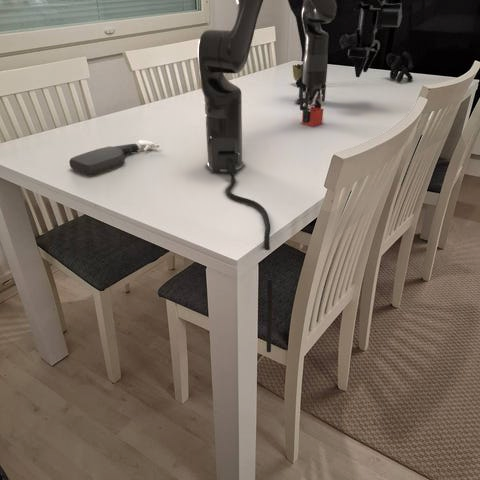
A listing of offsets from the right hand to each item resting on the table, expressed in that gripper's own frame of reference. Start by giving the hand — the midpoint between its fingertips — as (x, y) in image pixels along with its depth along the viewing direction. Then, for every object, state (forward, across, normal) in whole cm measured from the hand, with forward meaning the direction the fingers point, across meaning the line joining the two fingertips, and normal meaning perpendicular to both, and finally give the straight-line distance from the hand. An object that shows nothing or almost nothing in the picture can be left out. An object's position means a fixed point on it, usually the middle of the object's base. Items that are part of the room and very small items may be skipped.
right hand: (361, 74), depth 157 cm
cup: (+12, -26, -33) cm, 43 cm away
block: (+12, +24, -9) cm, 28 cm away
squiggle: (+12, -52, +4) cm, 54 cm away
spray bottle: (+12, +78, -46) cm, 91 cm away
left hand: (+11, +23, -9) cm, 27 cm away
